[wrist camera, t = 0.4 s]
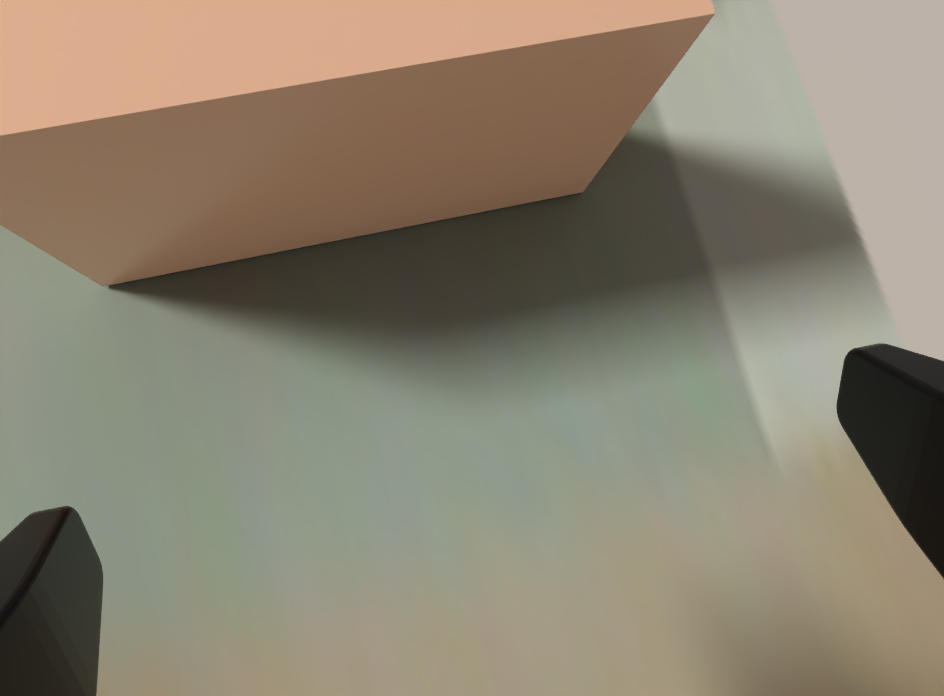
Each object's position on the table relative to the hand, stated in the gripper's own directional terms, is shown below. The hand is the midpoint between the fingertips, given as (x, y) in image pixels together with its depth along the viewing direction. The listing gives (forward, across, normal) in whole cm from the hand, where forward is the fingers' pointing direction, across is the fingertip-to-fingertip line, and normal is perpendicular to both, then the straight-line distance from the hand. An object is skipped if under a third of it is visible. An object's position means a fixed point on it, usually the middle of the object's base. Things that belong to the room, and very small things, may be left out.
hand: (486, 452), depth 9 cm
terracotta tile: (+16, +1, +2) cm, 16 cm away
